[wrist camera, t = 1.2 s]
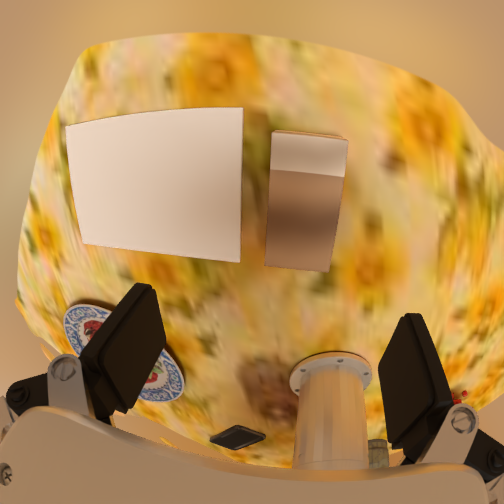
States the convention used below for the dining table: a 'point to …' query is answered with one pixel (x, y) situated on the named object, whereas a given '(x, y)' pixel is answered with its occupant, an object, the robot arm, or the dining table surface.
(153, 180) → the white rectangular board
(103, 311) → the ceramic plate
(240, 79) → the dining table surface
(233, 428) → the phone
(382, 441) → the grey-green ridged column
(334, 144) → the brown and beige box
